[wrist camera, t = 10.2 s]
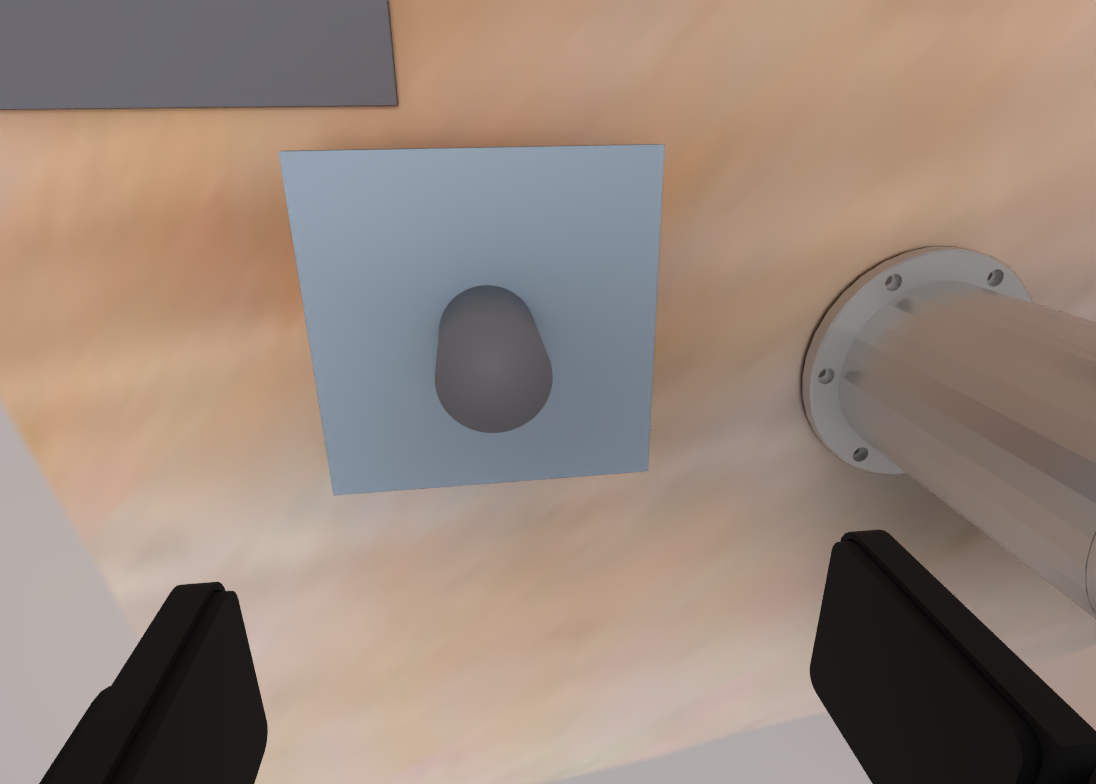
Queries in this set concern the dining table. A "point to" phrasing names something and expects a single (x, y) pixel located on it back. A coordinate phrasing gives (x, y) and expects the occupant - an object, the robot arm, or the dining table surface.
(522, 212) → the lid
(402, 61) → the dining table surface
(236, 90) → the mat
